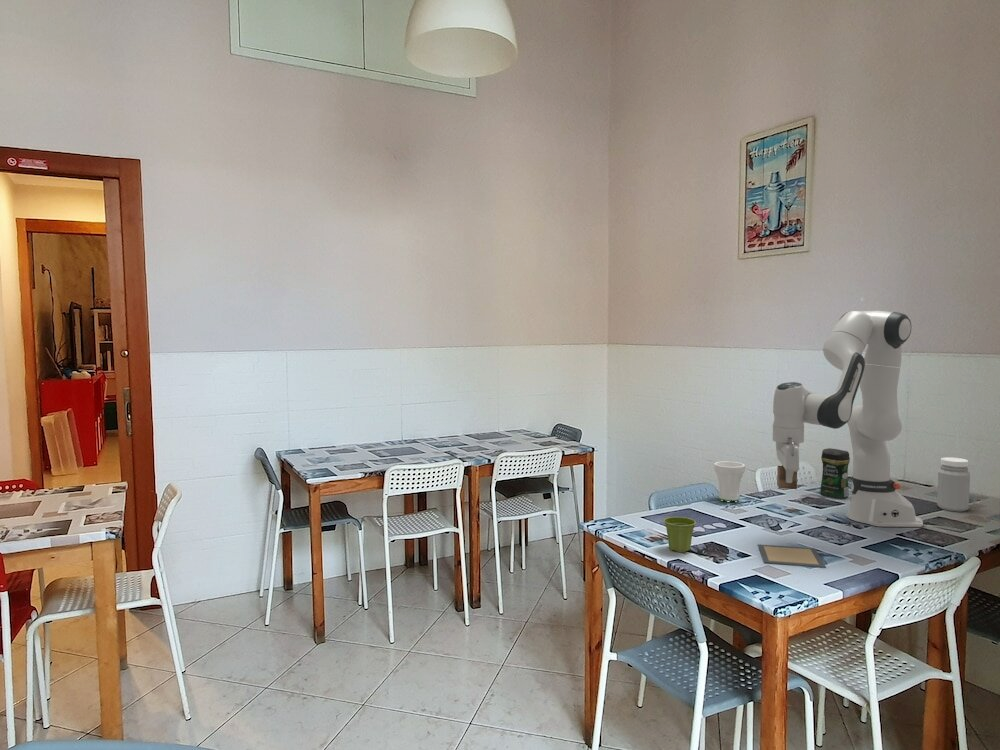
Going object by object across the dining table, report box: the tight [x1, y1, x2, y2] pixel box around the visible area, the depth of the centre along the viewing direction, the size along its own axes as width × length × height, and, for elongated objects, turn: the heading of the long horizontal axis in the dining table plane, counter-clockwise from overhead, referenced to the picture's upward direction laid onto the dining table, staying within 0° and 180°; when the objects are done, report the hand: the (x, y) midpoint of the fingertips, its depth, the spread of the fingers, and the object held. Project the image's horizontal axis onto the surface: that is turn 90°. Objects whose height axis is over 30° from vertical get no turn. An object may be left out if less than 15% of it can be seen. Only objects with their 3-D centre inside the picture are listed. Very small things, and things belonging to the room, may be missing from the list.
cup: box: [713, 460, 746, 502], centre depth 256 cm, size 11×11×14 cm
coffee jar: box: [819, 447, 851, 499], centre depth 260 cm, size 10×8×19 cm
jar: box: [936, 456, 971, 513], centre depth 241 cm, size 10×10×18 cm
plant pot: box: [663, 516, 697, 553], centre depth 201 cm, size 9×9×9 cm
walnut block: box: [776, 465, 798, 490], centre depth 206 cm, size 5×5×6 cm
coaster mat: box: [757, 543, 827, 569], centre depth 194 cm, size 16×16×1 cm
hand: (787, 480), depth 206 cm, fingers closed on walnut block, 5 cm apart
